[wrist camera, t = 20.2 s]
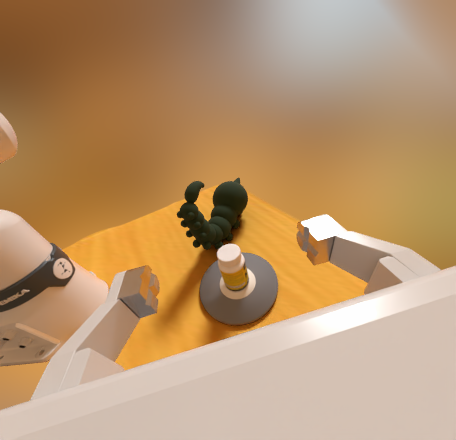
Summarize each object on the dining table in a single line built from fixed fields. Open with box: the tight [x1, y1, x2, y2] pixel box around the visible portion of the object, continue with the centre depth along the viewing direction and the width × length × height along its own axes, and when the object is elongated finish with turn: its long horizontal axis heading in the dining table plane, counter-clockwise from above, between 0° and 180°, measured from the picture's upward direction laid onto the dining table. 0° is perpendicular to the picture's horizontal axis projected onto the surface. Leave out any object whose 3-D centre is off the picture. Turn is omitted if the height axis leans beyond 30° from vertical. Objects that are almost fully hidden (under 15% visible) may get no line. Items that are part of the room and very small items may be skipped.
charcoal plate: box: [200, 253, 278, 325], centre depth 35 cm, size 15×15×1 cm
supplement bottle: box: [217, 244, 249, 293], centre depth 32 cm, size 5×5×8 cm
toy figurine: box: [177, 178, 248, 250], centre depth 45 cm, size 9×19×25 cm
